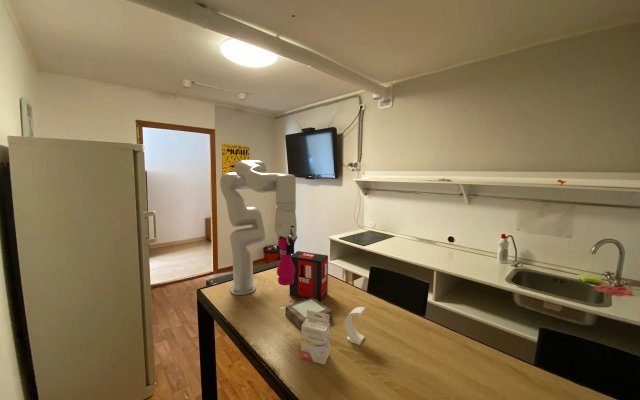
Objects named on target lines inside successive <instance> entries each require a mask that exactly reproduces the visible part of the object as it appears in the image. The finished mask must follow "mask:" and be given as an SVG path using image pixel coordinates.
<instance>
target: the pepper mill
mask: <svg viewBox="0 0 640 400" xmlns="http://www.w3.org/2000/svg"><path fill="white" fill-rule="evenodd" d="M290 239H292V238H289V241H290ZM286 245H287V240H286V238H284V237H282V238H280V240H279V242H278V241H277V247H278V246H279V247H280V250H279V254H280V261H279V263H278V266H277V268H276V275H277V276H278V278H277V283H278V284H279V285H281V286H290V285H291V284H293V283H294V277H293V275H294V274H295V267H294V265H293V262H292V259H291V255H292V254H290V255H287V254H286Z"/></svg>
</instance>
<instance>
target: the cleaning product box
mask: <svg viewBox="0 0 640 400" xmlns="http://www.w3.org/2000/svg"><path fill="white" fill-rule="evenodd" d="M291 259H292V262H293V265H294V267H295V274H294V275H293V277H294V283H293V284H291V285H289V296H290V297H293V298H298V299H302V300H305V299H308V298H311V297H313V298H315V299H316V300H318V301H319V302H321V303H323V301H324V299H325V298H326V297H327V295H328V283H329V281H328V280H329V277H328V276H329V255H328V254H327V255H326V254H321V253H320V254H319V253H312V252H307V251H299V250H298V251H296V252H294V254H291Z"/></svg>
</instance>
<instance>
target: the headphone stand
mask: <svg viewBox="0 0 640 400" xmlns="http://www.w3.org/2000/svg"><path fill="white" fill-rule="evenodd" d="M365 310H366V307H364V306H357V307H355V308H353V309H352V310H351V311H350V312H349V314H348V315H347V316H346V318H345V320H344V330H345V332H346V334H347V337H346V341H347V342H350V343H352V344H355V345H358V346H360V345H361V344H362V343H363V341H364V339H365V335H362V334H361V333H359V331H358V330H357V329H356V328H355V327H354V324H353V320H352V319H353V316H362V315H363V313H364V312H365Z"/></svg>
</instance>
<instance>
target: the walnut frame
mask: <svg viewBox="0 0 640 400" xmlns="http://www.w3.org/2000/svg"><path fill="white" fill-rule="evenodd" d="M307 310H310V311H315V312H319V313H324V314H328V315H329V322H331V321H332V320H333V310H332V309H330V308H329V307H328V306H327V305H325V304H323V302H319V301H318V300H316V299H315V298H313V297H311V298H308V299H302V300H300V301H297V302H295V303H292V304H289V305H286V306H285V316H286V317H287V318H288V320H290V321H291V322H292V323H293V324H294V325H295V326H296V327H297V328H298V329H300V330H301V327H302V324H303V323H304V321H305V320H306V318H307ZM314 316H316V317H320V318H322V316H319V315H314Z"/></svg>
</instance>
